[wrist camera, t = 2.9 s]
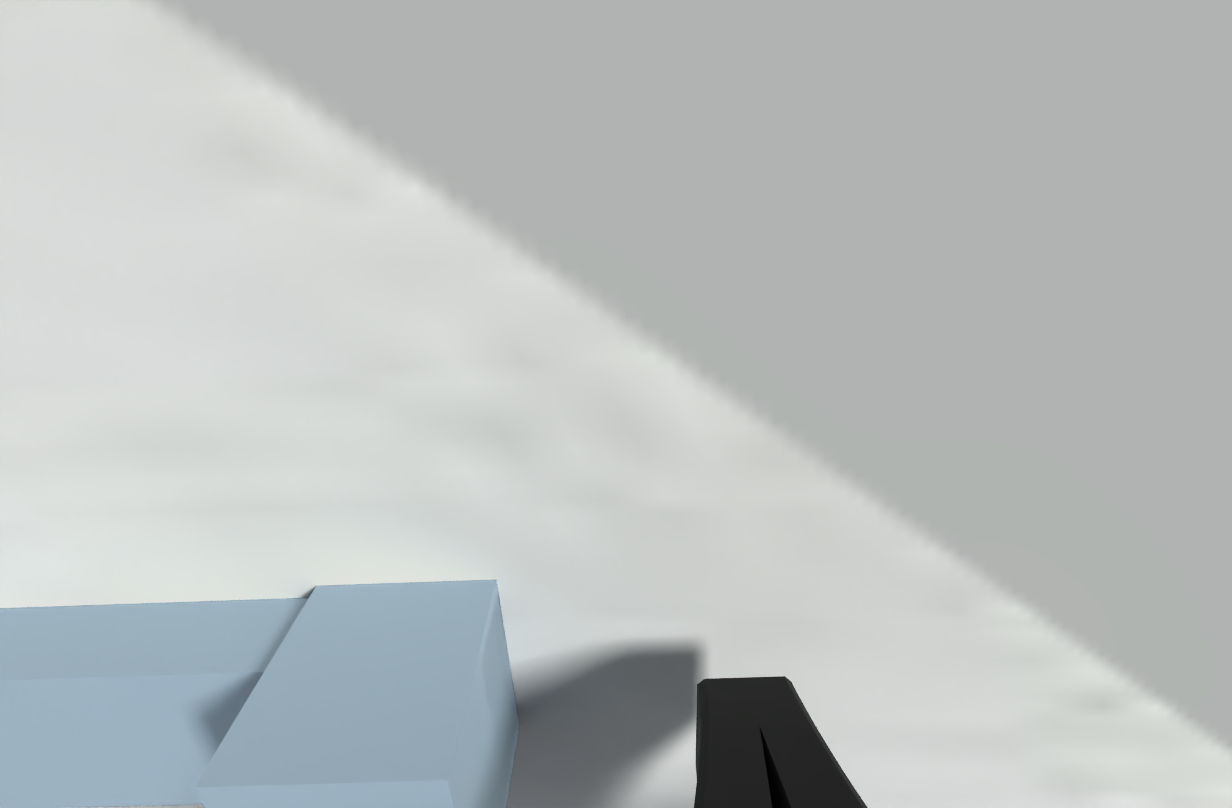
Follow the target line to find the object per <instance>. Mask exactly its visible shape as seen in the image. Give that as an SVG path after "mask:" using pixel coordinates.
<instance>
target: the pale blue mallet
mask: <svg viewBox="0 0 1232 808" xmlns="http://www.w3.org/2000/svg"><path fill="white" fill-rule="evenodd" d="M518 730H519V720H518V713H517V707H516V701H515V694H514V688H513V682H512V675H511V669H510V663H509V656H508V650H507V644H506V637H505V631H504V625H503V618H502V612H501V606H500V599H499V593H498V587H497V580H471V581H442V582H413V583H384V584H355V585H326V586H316V587H315V589H314V590H313V592H312V594H311V595H310V597H309V598H289V599H259V600H230V601H201V602H171V603H142V604H113V605H83V606H54V607H25V608H0V808H82V807H118V806H153V805H189V804H203V806H204V808H507V803H508V796H509V790H510V783H511V776H512V770H513V763H514V757H515V750H516V744H517V737H518Z"/></svg>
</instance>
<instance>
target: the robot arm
mask: <svg viewBox="0 0 1232 808" xmlns="http://www.w3.org/2000/svg"><path fill="white" fill-rule="evenodd" d="M696 772H697V787H696V795H695V804H694V808H867V806H866V805H865V803H864V802H863V800H862V799H861V797H860V796H859V794H858V793H857V792H856V790H855V789H854V787H853V786H852V784H851V782H850V781H849V779H848V778H847V776H846V775H845V773H844V772H843V770H842V769H841V767H840V765H839V764H838V762H837V761H836V759H835V757H834V756H833V754H832V752H831V751H830V749H829V748H828V746H827V744H826V743H825V741H824V739H823V738H822V736H821V734H820V733H819V731H818V729H817V728H816V726H815V724H814V723H813V721H812V719H811V717H810V716H809V714H808V712H807V710H806V709H805V707H804V705H803V703H802V701H801V699H800V698H799V696H798V694H797V692H796V690H795V688H794V686H793V684H792V682H791V681H790V680H788V679H787V678H786V677H752V678H719V679H704V680H703V681H701V682H700V683H699V684H697V723H696Z"/></svg>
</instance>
